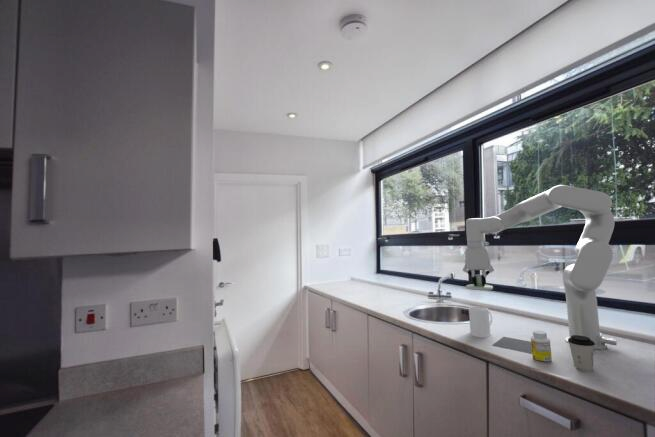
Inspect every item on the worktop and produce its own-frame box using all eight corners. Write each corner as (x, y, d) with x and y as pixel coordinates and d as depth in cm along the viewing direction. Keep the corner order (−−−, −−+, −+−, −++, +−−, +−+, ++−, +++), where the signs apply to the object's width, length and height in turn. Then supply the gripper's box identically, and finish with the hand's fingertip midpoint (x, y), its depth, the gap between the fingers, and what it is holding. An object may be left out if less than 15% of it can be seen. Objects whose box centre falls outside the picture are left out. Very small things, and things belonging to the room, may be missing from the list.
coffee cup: (603, 372, 98) (600, 340, 98) (583, 374, 97) (580, 341, 98) (583, 363, 104) (580, 333, 105) (564, 365, 104) (561, 335, 105)
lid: (496, 287, 139) (495, 274, 140) (487, 291, 132) (486, 277, 132) (471, 285, 147) (471, 272, 148) (462, 288, 140) (461, 275, 140)
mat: (542, 345, 123) (542, 343, 123) (532, 355, 113) (532, 353, 113) (503, 338, 133) (503, 336, 133) (491, 346, 123) (491, 345, 123)
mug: (487, 330, 144) (485, 304, 144) (501, 336, 136) (499, 308, 136) (465, 333, 141) (463, 307, 141) (479, 339, 132) (477, 311, 133)
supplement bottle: (535, 357, 111) (532, 328, 112) (553, 361, 107) (551, 331, 108) (530, 362, 108) (528, 332, 108) (550, 366, 104) (547, 335, 104)
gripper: (494, 244, 142) (497, 284, 141) (456, 245, 147) (459, 284, 146) (498, 244, 135) (501, 287, 134) (458, 246, 139) (460, 286, 138)
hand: (479, 285), depth 140 cm, fingers closed on lid, 2 cm apart
